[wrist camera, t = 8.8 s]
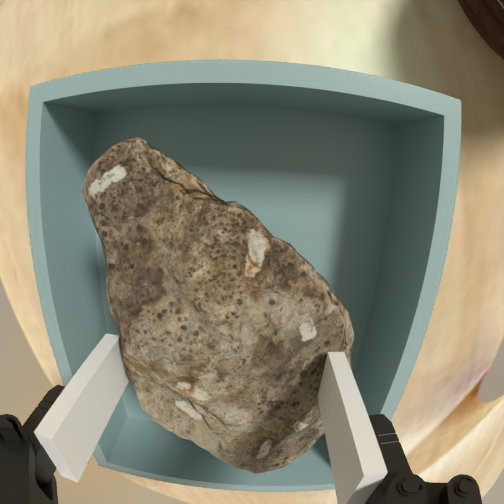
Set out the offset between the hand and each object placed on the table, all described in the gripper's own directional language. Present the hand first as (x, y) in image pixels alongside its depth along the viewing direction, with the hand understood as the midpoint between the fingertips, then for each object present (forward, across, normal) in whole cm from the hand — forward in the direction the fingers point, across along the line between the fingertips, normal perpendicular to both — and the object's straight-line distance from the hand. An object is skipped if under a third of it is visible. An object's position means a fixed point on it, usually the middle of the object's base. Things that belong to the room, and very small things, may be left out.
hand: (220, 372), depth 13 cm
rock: (+2, +1, +1) cm, 2 cm away
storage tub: (+8, 0, 0) cm, 8 cm away
